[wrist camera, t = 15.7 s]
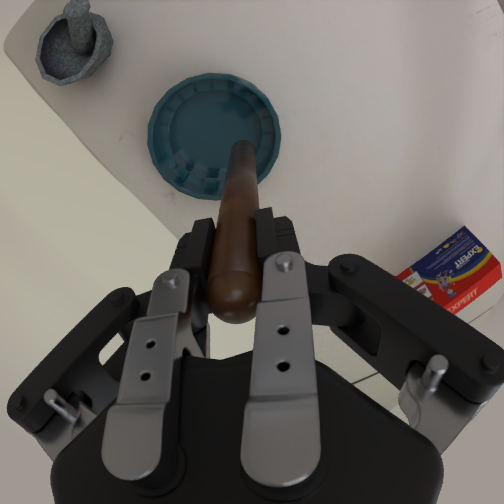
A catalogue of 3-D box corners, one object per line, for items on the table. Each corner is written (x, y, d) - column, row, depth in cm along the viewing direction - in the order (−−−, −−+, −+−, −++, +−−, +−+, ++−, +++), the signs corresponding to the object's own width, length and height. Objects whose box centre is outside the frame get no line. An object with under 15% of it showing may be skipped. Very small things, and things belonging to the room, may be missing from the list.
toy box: (396, 292, 52) (419, 338, 42) (389, 281, 50) (413, 327, 41) (469, 239, 45) (502, 277, 36) (464, 225, 44) (500, 262, 34)
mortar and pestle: (90, 94, 32) (39, 108, 22) (53, 56, 28) (-2, 62, 18) (147, 32, 28) (107, 20, 18) (106, -4, 24) (58, -22, 14)
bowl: (176, 194, 41) (167, 210, 37) (146, 91, 32) (133, 94, 28) (284, 174, 39) (289, 188, 35) (265, 63, 31) (268, 61, 27)
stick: (234, 160, 26) (212, 339, 10) (229, 140, 25) (194, 296, 9) (256, 156, 26) (271, 332, 10) (252, 135, 25) (261, 286, 9)
